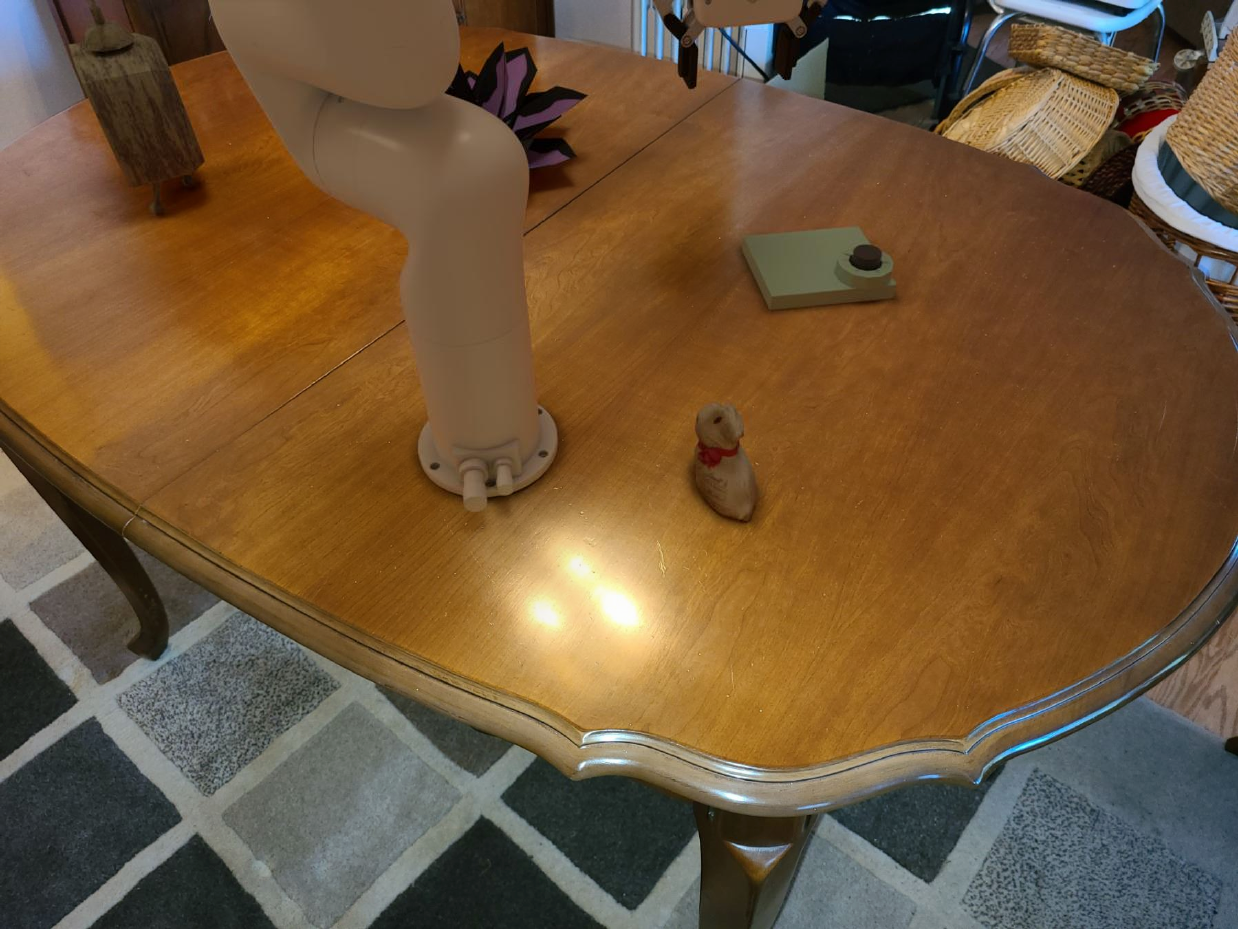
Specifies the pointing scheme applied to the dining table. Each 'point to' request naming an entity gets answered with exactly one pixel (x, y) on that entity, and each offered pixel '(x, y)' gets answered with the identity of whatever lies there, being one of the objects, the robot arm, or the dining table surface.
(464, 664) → the dining table surface
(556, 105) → the decorative flower
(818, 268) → the scale
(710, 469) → the chocolate bunny
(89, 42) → the tabletop clock
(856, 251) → the button
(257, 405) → the dining table surface
